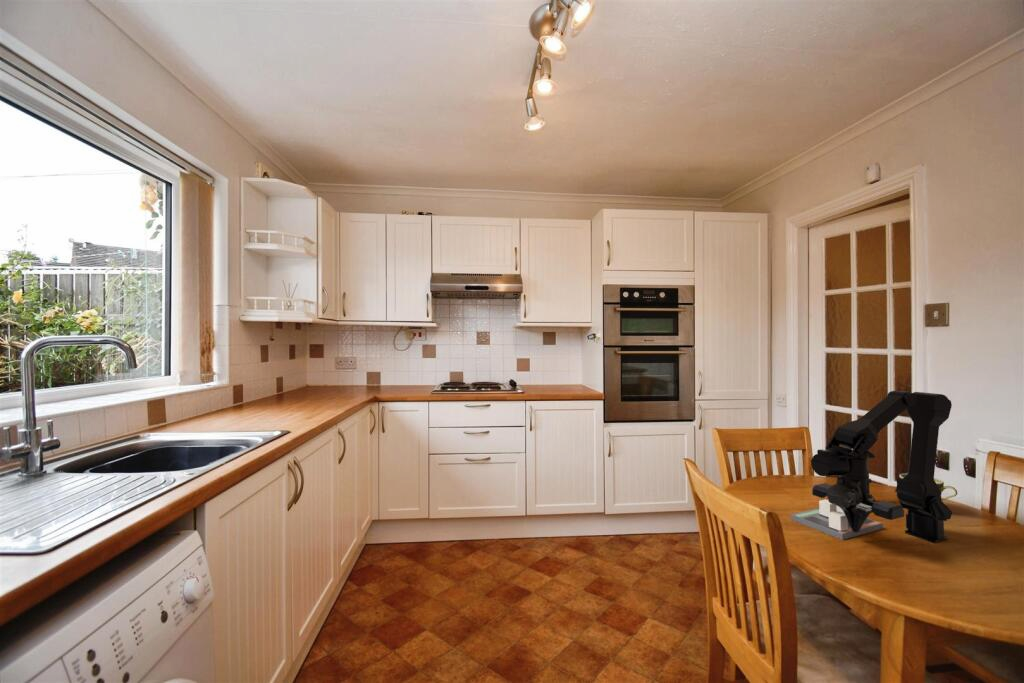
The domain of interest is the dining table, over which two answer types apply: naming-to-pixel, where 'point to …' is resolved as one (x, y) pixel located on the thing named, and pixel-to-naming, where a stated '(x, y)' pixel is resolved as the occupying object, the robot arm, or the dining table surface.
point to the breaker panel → (822, 524)
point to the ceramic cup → (940, 485)
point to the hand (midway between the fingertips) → (855, 531)
